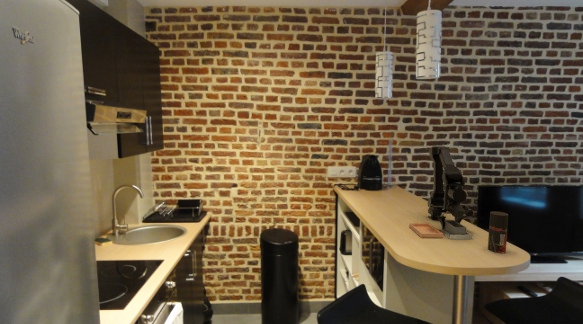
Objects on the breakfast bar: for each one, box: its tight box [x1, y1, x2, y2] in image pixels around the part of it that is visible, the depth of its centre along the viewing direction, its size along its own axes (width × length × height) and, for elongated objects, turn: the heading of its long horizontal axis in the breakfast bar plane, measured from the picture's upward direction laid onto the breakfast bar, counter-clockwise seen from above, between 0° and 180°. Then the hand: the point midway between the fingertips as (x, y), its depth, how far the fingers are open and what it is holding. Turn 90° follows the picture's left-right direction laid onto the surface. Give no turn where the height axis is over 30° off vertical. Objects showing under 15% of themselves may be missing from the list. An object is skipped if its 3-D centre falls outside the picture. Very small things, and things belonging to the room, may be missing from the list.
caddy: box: [444, 219, 467, 234], centre depth 134 cm, size 11×5×5 cm, turn 177°
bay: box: [440, 228, 473, 240], centre depth 131 cm, size 8×10×2 cm
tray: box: [408, 222, 444, 239], centre depth 136 cm, size 15×9×2 cm, turn 177°
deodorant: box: [487, 210, 509, 254], centre depth 115 cm, size 6×6×15 cm
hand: (449, 229), depth 137 cm, fingers closed on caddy, 5 cm apart
